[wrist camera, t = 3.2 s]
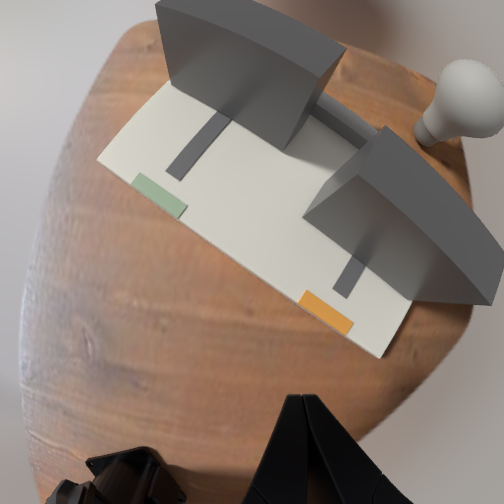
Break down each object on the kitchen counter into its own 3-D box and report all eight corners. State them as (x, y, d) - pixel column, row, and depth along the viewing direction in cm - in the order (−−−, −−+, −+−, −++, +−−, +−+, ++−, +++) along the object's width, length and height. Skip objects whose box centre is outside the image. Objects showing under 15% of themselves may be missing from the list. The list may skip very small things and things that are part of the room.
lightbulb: (451, 164, 22) (532, 121, 11) (409, 172, 21) (501, 118, 10) (426, 109, 22) (493, 52, 12) (381, 110, 22) (452, 37, 11)
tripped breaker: (407, 299, 18) (491, 305, 10) (301, 217, 18) (357, 174, 10) (424, 264, 19) (506, 255, 11) (325, 182, 18) (385, 125, 11)
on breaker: (282, 151, 18) (319, 77, 10) (171, 85, 18) (154, 4, 10) (305, 122, 19) (346, 48, 11) (197, 61, 18) (193, -19, 11)
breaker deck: (370, 354, 20) (390, 363, 17) (103, 167, 19) (88, 151, 16) (439, 217, 21) (461, 210, 18) (211, 55, 21) (211, 31, 18)
